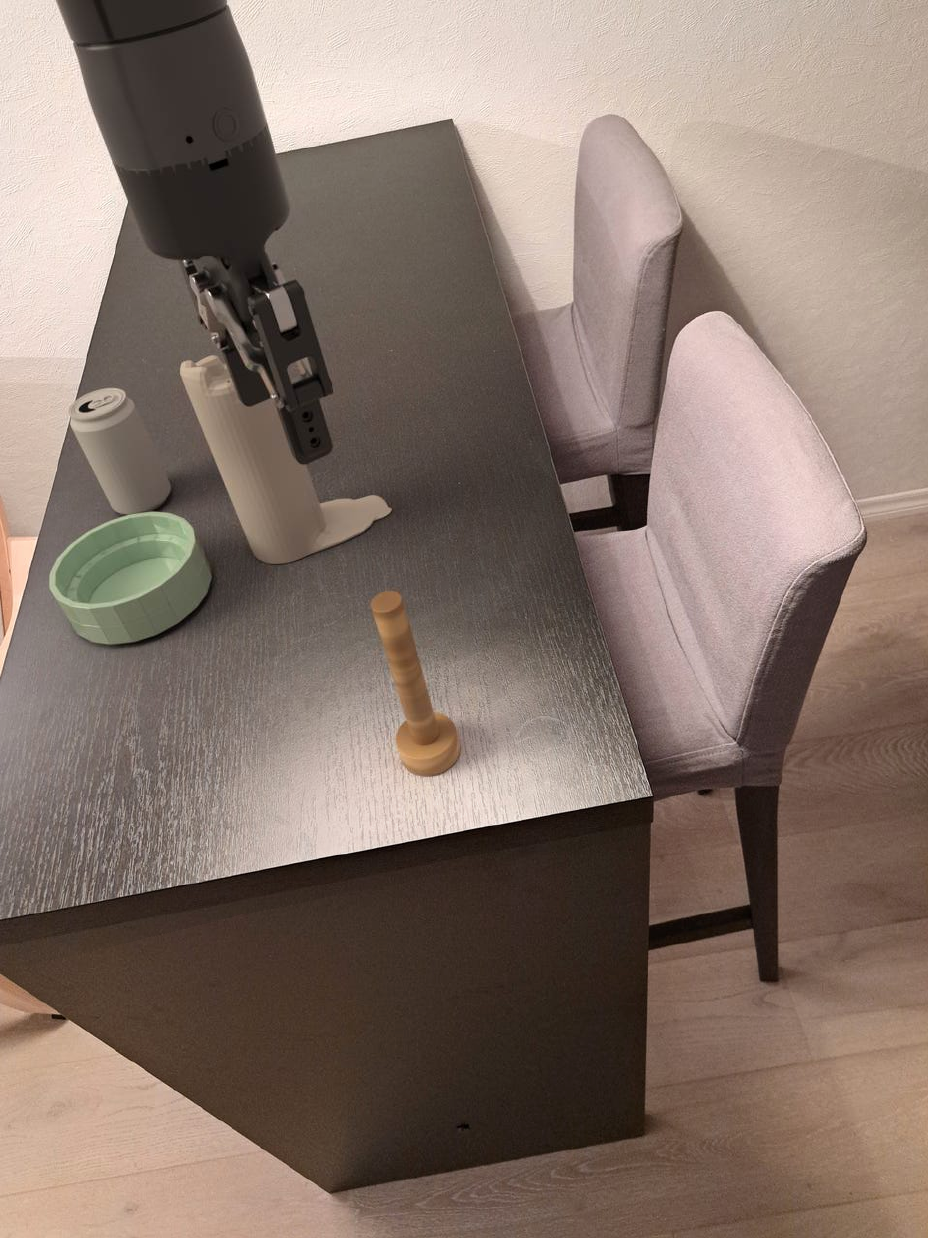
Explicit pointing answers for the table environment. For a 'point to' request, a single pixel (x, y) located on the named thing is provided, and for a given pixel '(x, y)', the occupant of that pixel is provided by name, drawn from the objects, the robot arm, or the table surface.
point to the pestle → (413, 694)
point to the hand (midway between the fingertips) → (285, 427)
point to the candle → (268, 473)
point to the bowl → (131, 577)
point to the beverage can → (119, 451)
